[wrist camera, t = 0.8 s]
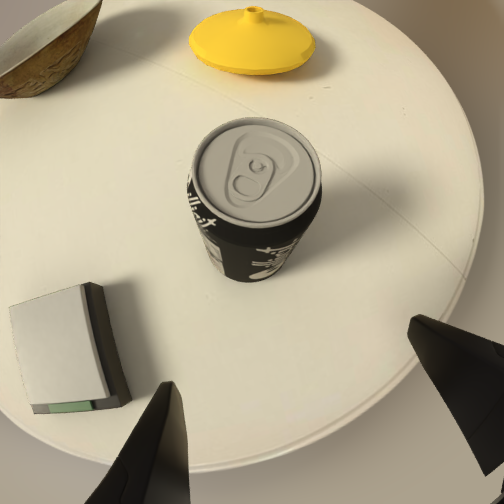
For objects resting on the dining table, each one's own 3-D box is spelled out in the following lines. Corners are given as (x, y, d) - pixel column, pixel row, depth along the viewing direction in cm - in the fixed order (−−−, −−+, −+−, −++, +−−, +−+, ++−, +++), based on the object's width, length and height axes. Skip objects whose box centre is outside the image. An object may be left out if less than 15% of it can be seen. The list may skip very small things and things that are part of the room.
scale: (132, 400, 20) (118, 409, 17) (47, 409, 18) (28, 415, 15) (102, 286, 22) (85, 279, 19) (24, 309, 21) (4, 305, 18)
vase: (302, 30, 33) (309, -6, 26) (321, 93, 29) (335, 47, 22) (197, 28, 32) (194, -9, 25) (183, 90, 28) (175, 43, 21)
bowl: (17, 65, 31) (-1, 34, 22) (121, 17, 34) (110, -23, 24) (-18, 152, 26) (-53, 118, 16) (110, 87, 28) (85, 29, 18)
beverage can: (300, 228, 24) (348, 146, 13) (265, 298, 22) (295, 265, 11) (231, 195, 25) (228, 95, 13) (193, 260, 23) (152, 194, 11)
